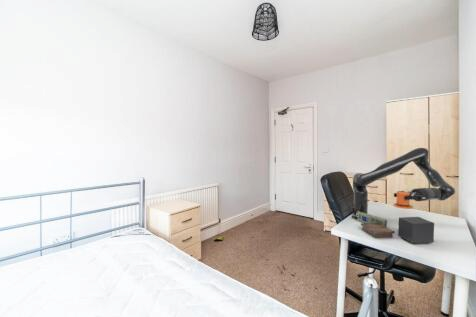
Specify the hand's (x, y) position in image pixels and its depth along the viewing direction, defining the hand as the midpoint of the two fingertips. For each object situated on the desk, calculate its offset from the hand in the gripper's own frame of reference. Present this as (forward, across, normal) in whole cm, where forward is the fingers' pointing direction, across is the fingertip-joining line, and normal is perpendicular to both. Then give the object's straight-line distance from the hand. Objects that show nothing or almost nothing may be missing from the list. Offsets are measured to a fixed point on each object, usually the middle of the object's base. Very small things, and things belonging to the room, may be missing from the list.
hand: (399, 196), depth 126 cm
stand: (+7, +8, -25) cm, 27 cm away
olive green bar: (0, +23, -25) cm, 34 cm away
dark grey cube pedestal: (-6, -5, -25) cm, 26 cm away
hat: (-2, 0, -6) cm, 7 cm away
